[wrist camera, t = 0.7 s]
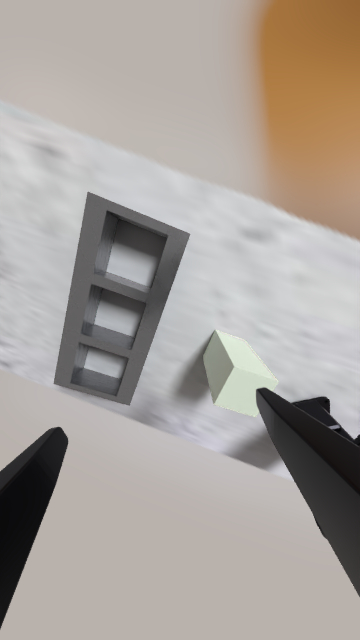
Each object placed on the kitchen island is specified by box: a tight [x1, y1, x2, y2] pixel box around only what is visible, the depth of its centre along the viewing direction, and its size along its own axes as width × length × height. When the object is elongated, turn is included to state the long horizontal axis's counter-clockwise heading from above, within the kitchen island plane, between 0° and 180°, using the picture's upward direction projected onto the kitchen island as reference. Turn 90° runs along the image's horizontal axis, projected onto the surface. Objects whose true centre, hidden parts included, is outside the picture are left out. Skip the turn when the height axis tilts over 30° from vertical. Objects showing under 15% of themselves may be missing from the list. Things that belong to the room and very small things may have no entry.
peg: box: [203, 330, 279, 418], centre depth 18 cm, size 4×4×8 cm
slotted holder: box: [54, 192, 190, 406], centre depth 19 cm, size 20×9×3 cm, turn 160°
